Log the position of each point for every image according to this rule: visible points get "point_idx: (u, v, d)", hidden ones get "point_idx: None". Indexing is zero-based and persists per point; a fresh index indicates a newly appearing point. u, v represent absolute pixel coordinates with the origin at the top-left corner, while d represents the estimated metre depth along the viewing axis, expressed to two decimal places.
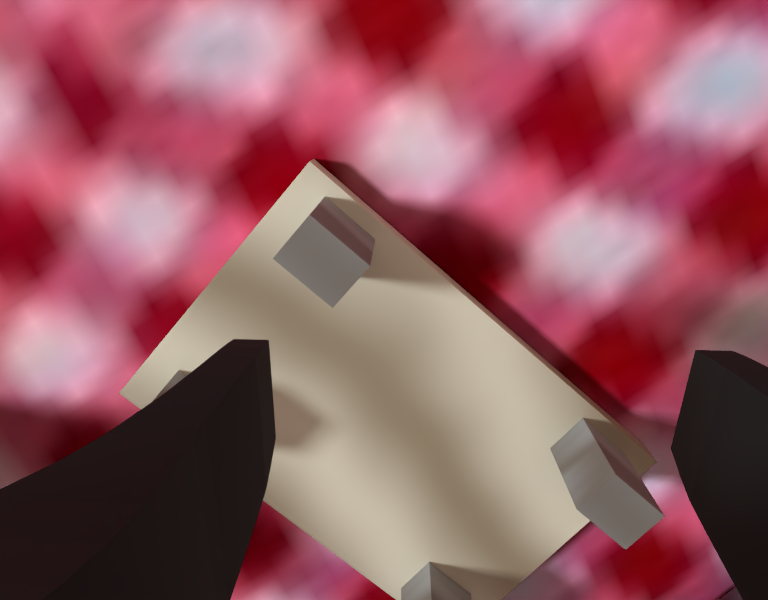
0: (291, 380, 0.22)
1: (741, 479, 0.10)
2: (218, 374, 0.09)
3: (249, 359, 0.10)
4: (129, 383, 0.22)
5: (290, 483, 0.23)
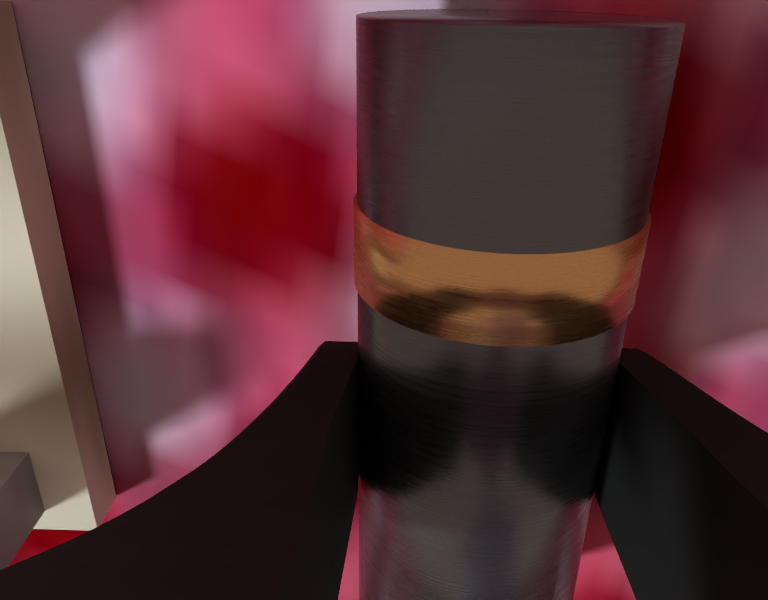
0: None
1: (634, 476, 0.10)
2: (327, 377, 0.09)
3: (352, 362, 0.10)
4: None
5: None
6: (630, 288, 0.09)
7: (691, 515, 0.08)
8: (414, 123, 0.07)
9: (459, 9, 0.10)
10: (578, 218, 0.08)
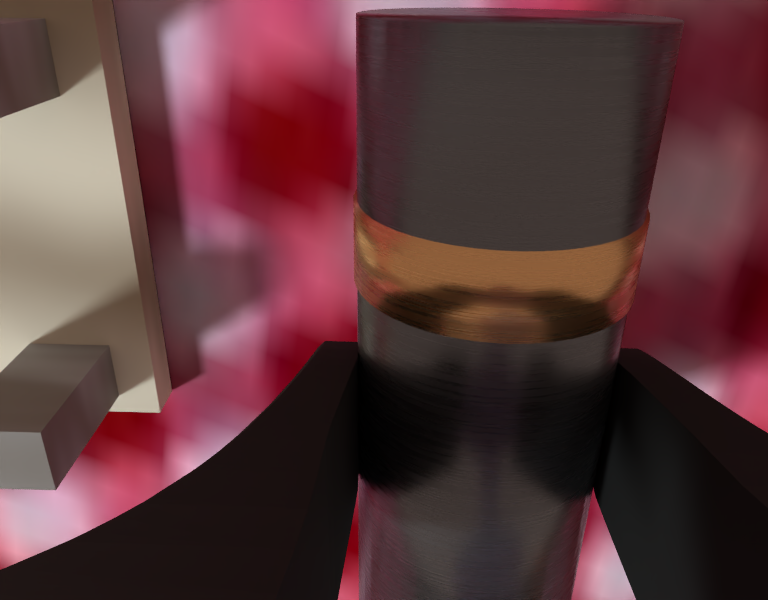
0: None
1: (633, 476, 0.10)
2: (327, 377, 0.09)
3: (352, 362, 0.10)
4: None
5: None
6: (629, 285, 0.09)
7: (691, 515, 0.08)
8: (414, 121, 0.08)
9: (459, 8, 0.10)
10: (577, 215, 0.08)
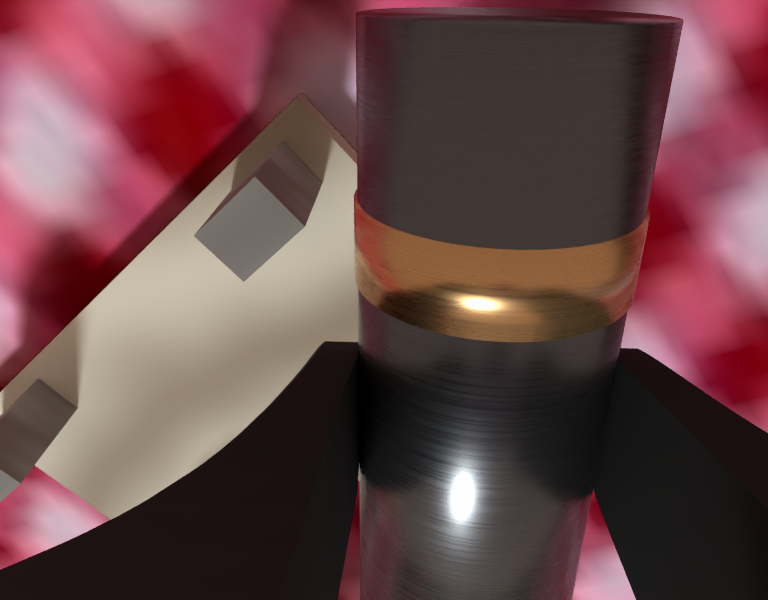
0: (190, 463, 0.22)
1: (634, 476, 0.10)
2: (326, 377, 0.09)
3: (352, 362, 0.10)
4: None
5: None
6: (629, 284, 0.09)
7: (691, 515, 0.08)
8: (414, 121, 0.08)
9: (458, 7, 0.10)
10: (577, 214, 0.08)
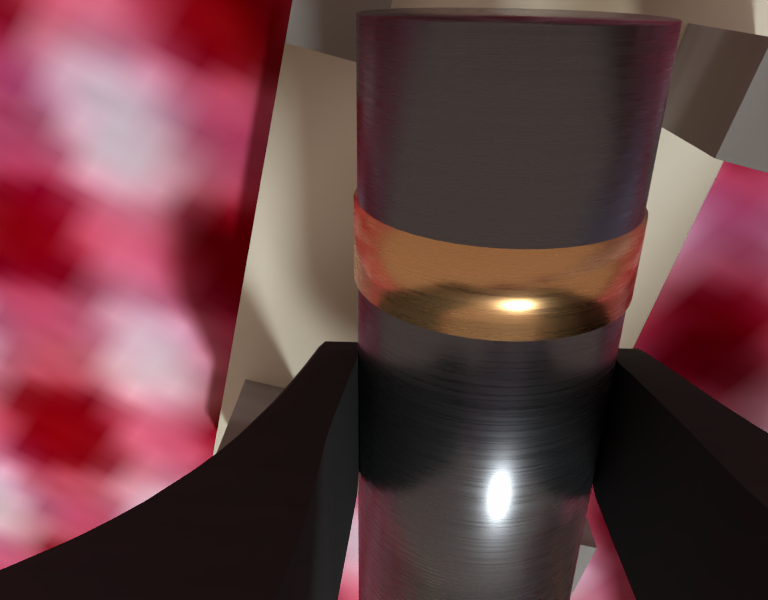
0: None
1: (633, 476, 0.10)
2: (327, 377, 0.09)
3: (352, 362, 0.10)
4: None
5: None
6: (628, 282, 0.09)
7: (691, 515, 0.08)
8: (416, 120, 0.08)
9: None
10: (578, 213, 0.08)
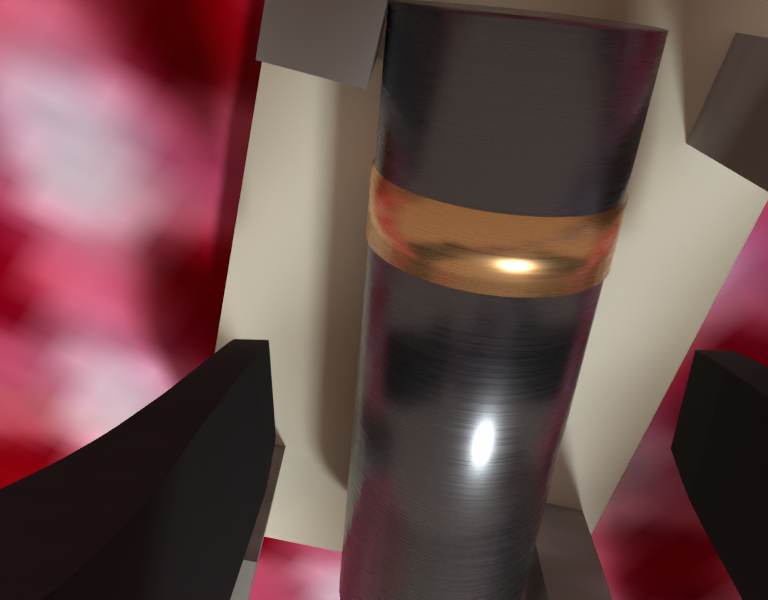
0: None
1: (740, 479, 0.10)
2: (218, 374, 0.09)
3: (249, 359, 0.10)
4: None
5: (610, 394, 0.15)
6: (607, 255, 0.10)
7: None
8: (435, 97, 0.09)
9: (474, 5, 0.11)
10: (568, 188, 0.09)
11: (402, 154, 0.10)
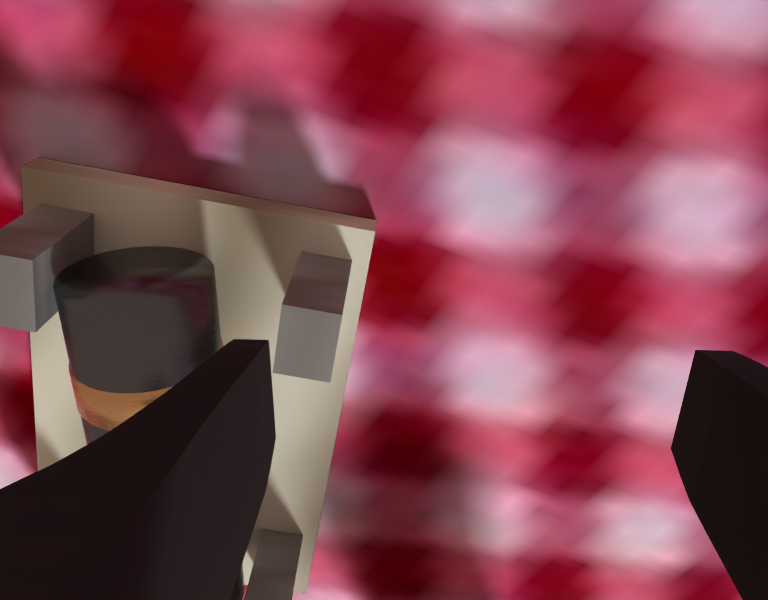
0: None
1: (741, 478, 0.10)
2: (218, 374, 0.09)
3: (249, 359, 0.10)
4: None
5: (297, 459, 0.23)
6: None
7: None
8: (70, 336, 0.17)
9: (138, 248, 0.19)
10: (146, 378, 0.17)
11: (69, 357, 0.17)
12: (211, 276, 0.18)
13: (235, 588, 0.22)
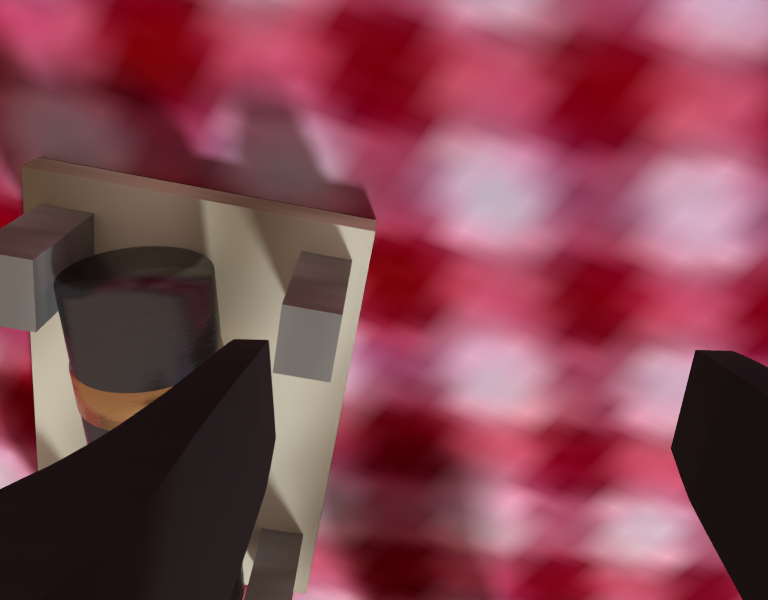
0: None
1: (741, 479, 0.10)
2: (218, 374, 0.09)
3: (249, 359, 0.10)
4: None
5: (297, 459, 0.23)
6: None
7: None
8: (70, 336, 0.17)
9: (138, 248, 0.19)
10: (146, 378, 0.17)
11: (69, 357, 0.17)
12: (211, 276, 0.18)
13: (235, 588, 0.22)
